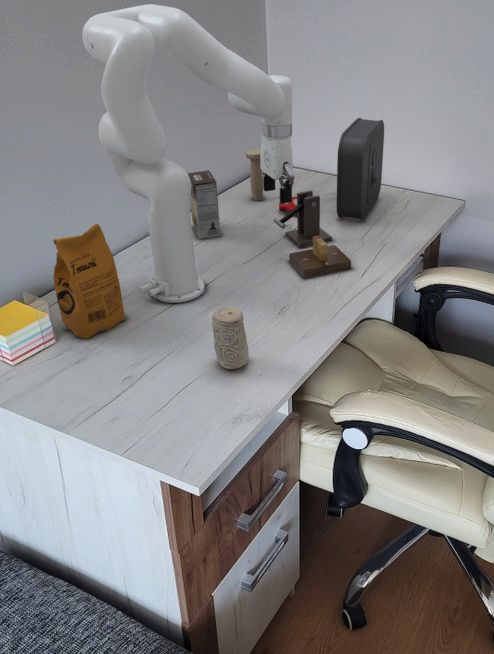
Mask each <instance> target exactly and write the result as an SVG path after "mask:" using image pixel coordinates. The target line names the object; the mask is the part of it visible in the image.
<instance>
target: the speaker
mask: <svg viewBox="0 0 494 654" xmlns="http://www.w3.org/2000/svg"><path fill="white" fill-rule="evenodd" d="M384 144H385V123H384V120H383V119H379V120H374V119H365V118H364V119H363V118H362V117H357V118H356V119H355V120H354V121H353V122H352V123H351V124H350V125H349V126H347V127H346V129H345V130H344V131H342V133H341V135H340V139H339V142H338V148H337V160H336V161H337V162H336V164H337V167H336V215H337V217H338V218H340V219H343V218H347V219H348V218H349V219H355V220H356V219H357V220H360V221H365V220H366V218H367V217H368V216H369V214H370V212H371V211H372V209H373V208H374V206H375V205H376V203H377V202H378V199H379V197H380V193H381V188H382V179H383V159H384V147H385V145H384Z"/></svg>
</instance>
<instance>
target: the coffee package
mask: <svg viewBox="0 0 494 654" xmlns="http://www.w3.org/2000/svg"><path fill="white" fill-rule="evenodd" d="M53 245H55V248H56V250H57V252H56V259H55V260H56V262H55V265H54V269H53V276H52V277H53V287H54V291H55V295H56V301H57V305H58V308H59V314H60V317H61V322H62V323H63V324H64V327H65V328H66V329H67V330H70V331H71V332H72V333H73V334H74V335H75V336H76V337H78V338H81V339H85V340H87V339H89V338H91V337H93V336H94V335H96V334H97V333H99V332H102V331H109V330H111V329H113V328H114V327H115V326H117V325H118V324H119V323H121V322H122V321H124V320H126V313H125V308H124V302H123V295H122V289H121V284H120V280H119V276H118V270H117V269H118V268H117V266H116V262H115V258H114V256H113V253H112V251H111V248H110V247H109V245H108V243H107V240H106V237H105V234H104V231H103V229H102V227H101V225H99V224H98V223H94V224H93V225H91V226H90V227H89V228H88V229H87V230H86V231H85V232H83V234H80V235H75V236H68V237H61V238H53Z"/></svg>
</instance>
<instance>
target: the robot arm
mask: <svg viewBox="0 0 494 654" xmlns="http://www.w3.org/2000/svg"><path fill="white" fill-rule="evenodd" d="M81 35H82V36H81V38H82V43H83V46H84V48H85V50H86V51H87V52H88V54H89V55H90V56H91V57H92V58H94V59H96V60H98V61H100V62H103V63H106V65H105V67H104V70H103V76H102V79H101V86H100V94H101V98H102V103H103V105H104V107H105V109H106V112H105V113H103V115H102V117H101V118H100V121H99V123H98V137H99V138H98V139H99V142H100V144H101V147H102V149H103V151H104V153H105V155H106V157H107V158H108V160H109V162H110V164H111V166H112V168H113V170H114V172H115V174H116V175H117V177H118V179H119V181H120V182H121V184H122V185H123V186H124V187H125V188H126V189H127V190H128V191H129V192H131V193H133V194H135V195H137V196H139V197H141V198H144V199H145V200H147V201H149V203H150V209H149V213H148V216H147V226H148V227H147V228H148V233H149V240H150V245H151V246H150V247H151V252H152V259H153V265H154V273H155V275H152V276H151V281H149V283H146V284H143V285H141V286H139V287H138V288H137V289H138V292H139V294H140V295H142V296H143V295H146V294H149V295H150V296H151V297H153V298H155V299H156V300H158V301H161V302H164V303H173V304H175V303H176V304H177V303H185V302H189V301H192V300H194V299H197V298H198V297H200V296H201V295H202V294H203V293H204V292H205V286H206V285H205V282H204V280H203V279H202V278H201V277H199V276H198V275H197V274H198V273H197V265H196V256H195V247H194V238H193V237H194V236H193V229H192V221H191V220H192V218H191V203H190V198H191V181H190V178H189V176H188V174H187V173H188V172H187V171H186V170H185V169H184V168H183V167H182V166H180V165H179V164H177V163H175V162H172V161H171V160H168V159H165V158H164V156H166V152H167V148H168V147H167V146H168V145H167V139H166V135H165V132H164V130H163V128H162V126H161V124H160V122H159V119H158V117H157V114H156V113H155V111H154V108H153V106H152V103H151V102H150V99H149V96H148V93H147V89H146V79H147V75H148V71H149V69H150V66H151V64H152V62H153V60H154V57H155V53H156V51H159V52H162V53H165V54H167V55H169V57H171V58H172V59H174V60H175V61H176V62H178V63H179V64H180V65H181V66H183V67H184V68H185V69H186V70H188V71H189V72H190V73H191V74H193V75H194V76H195V77H197V78H198V79H199V80H200V81H202V82H204V83H206V84H207V85H210V86H211V87H214V88H216V89H218V90H222V91H224V92H227V94H228V95H227V98H228V102H229V103H230V105H231V106H232V107H233V108H234V109H235V110H237V111H239V112H241V113H244V114H248V115H253V116H256V117H259V118H261V122H260V123H261V139H260V149H261V152H260V168H261V170H262V173H263V192H271V191H275V190H276V181H277V180H278V182H279V184H280V185H279V186H280V187H279V203H281V204H284V203H289V202H292V197H293V188H294V184H295V183H294V181H295V177H296V175H295V173H294V171H293V169H294V168H293V167H294V165H293V164H294V163H293V148H292V139H291V138H292V137H293V82H292V79H290V77H288V76H285V75H280V74H279V75H278V74H274V75H273V74H271V75H268V74H267V73H266V72H264V71H263V70H262V69H260V68H259V67H257V66H256V65H254V64H253V63H251V62H249V61H247V60H246V59H245V58H243V57H241V56H240V55H239V54H237V53H235V52H234V51H232V50H231V49H229V48H227V47H226V46H224V45H223V44H222V43H221V42H220V41H218V39H216V37H214V36H213V35H211V33H209V31H207V30H206V29H205V28H204V27H203V26H202V25H200V24H199V23H198V22H197V20H195V19H193V18H192V17H191V16H190V15H189V14H188V13H186V12H185V11H184V10H181V9H180V8H176V7H173V6H172V7H171V6H166V5H160V4H154V3H150V4H141V5H136V6H131V7H127V8H121V9H117V10H112V11H111V10H110V11H107V12H101V13H97V14H95V15H93V16H91V17H90V18H89V19H88V20H87V21H86V23H85V24H84V26H83V28H82V34H81ZM284 180H285V181H284Z"/></svg>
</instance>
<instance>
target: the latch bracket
mask: <svg viewBox="0 0 494 654" xmlns="http://www.w3.org/2000/svg"><path fill="white" fill-rule="evenodd" d="M308 193H309V194H310V195H312V197H306V198H304V208H303V209H302V210H300V211H299V212H298V213H297V215H296V219H297V220H296V221H297V225H296V226H297V227H296V229H292V230H288V231H285V232H284V233H285V234H284V235H285V237H286V238H287V239H288V240H289V241H291V242H292V243H293V244H294V245H296V247H298V248H299V249H304V248H308V247H311V246H312V247H313V236H318V235H319V236H320V237H321V238H322V239H323V240H324V241H325V242H326V243H330V242H333V236H331V235H330V234H329V233H328V232H326V231H325V230H324V229H322V228H321V196H320V195H318V194H317V195H314V191H313V190H306V191H301V192H300V193H299V192H297V193H296V197H297V206H298V205H300V204H301V203H302V201H301V199H302V198H303V197H304V196H306V195H307V194H308Z"/></svg>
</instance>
